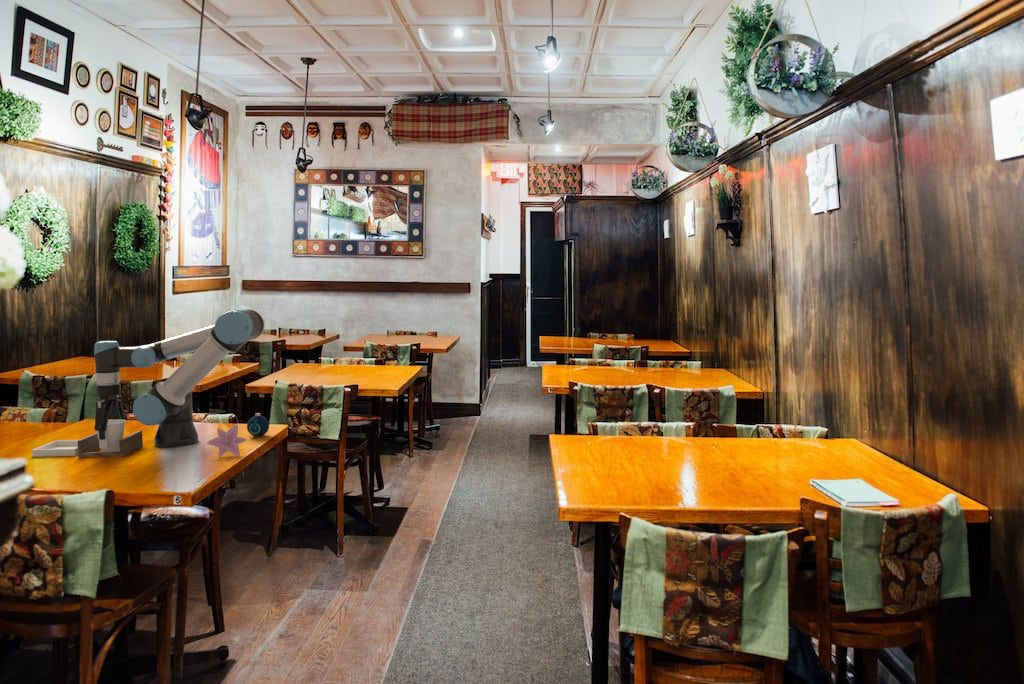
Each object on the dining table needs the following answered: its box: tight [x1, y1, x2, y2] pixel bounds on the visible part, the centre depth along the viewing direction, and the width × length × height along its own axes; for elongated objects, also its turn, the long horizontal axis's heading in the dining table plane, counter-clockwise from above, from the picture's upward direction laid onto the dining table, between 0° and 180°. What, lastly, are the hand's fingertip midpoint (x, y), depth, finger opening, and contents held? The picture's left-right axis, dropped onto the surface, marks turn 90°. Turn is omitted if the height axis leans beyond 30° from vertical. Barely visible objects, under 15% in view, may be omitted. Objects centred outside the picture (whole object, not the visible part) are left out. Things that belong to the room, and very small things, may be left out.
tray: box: [31, 439, 79, 457], centre depth 238 cm, size 14×14×2 cm
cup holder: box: [77, 430, 144, 458], centre depth 237 cm, size 15×15×6 cm
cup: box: [93, 418, 127, 452], centre depth 237 cm, size 10×10×11 cm
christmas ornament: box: [246, 412, 270, 437], centre depth 262 cm, size 8×8×10 cm
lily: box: [206, 424, 248, 458], centre depth 236 cm, size 12×12×10 cm
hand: (111, 444), depth 237 cm, fingers closed on cup, 9 cm apart
